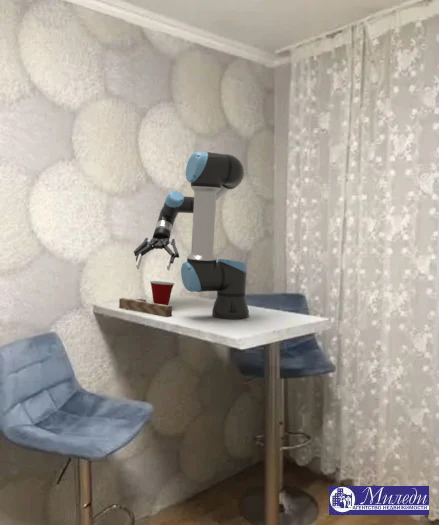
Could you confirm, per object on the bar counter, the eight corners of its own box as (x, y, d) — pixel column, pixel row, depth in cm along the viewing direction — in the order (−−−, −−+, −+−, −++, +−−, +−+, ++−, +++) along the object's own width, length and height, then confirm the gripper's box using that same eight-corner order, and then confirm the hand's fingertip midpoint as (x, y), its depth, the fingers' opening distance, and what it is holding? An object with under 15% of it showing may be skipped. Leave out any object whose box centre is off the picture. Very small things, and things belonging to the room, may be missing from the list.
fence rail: (185, 313, 197) (185, 303, 197) (166, 317, 188) (166, 306, 188) (138, 305, 215) (138, 295, 215) (119, 307, 207) (119, 298, 206)
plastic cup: (178, 309, 207) (179, 282, 206) (158, 311, 200) (159, 283, 199) (164, 305, 215) (165, 279, 214) (144, 307, 208) (144, 280, 207)
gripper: (190, 239, 218) (182, 274, 204) (138, 237, 222) (126, 272, 208) (188, 227, 213) (179, 262, 199) (134, 226, 216) (122, 260, 203)
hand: (152, 267), depth 204 cm, fingers open, 13 cm apart
